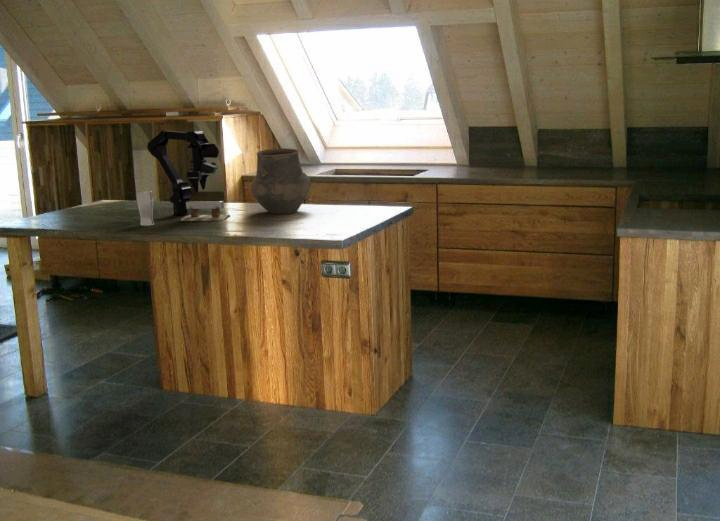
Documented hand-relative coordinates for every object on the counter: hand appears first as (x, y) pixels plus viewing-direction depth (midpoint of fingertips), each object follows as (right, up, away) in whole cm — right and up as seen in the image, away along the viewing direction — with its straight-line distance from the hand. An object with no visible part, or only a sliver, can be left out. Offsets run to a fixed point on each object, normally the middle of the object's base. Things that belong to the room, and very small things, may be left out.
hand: (200, 190), depth 394 cm
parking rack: (+4, -14, -7) cm, 16 cm away
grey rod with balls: (+4, -9, -8) cm, 12 cm away
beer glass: (-20, -17, -19) cm, 33 cm away
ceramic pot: (+38, -10, +5) cm, 40 cm away
